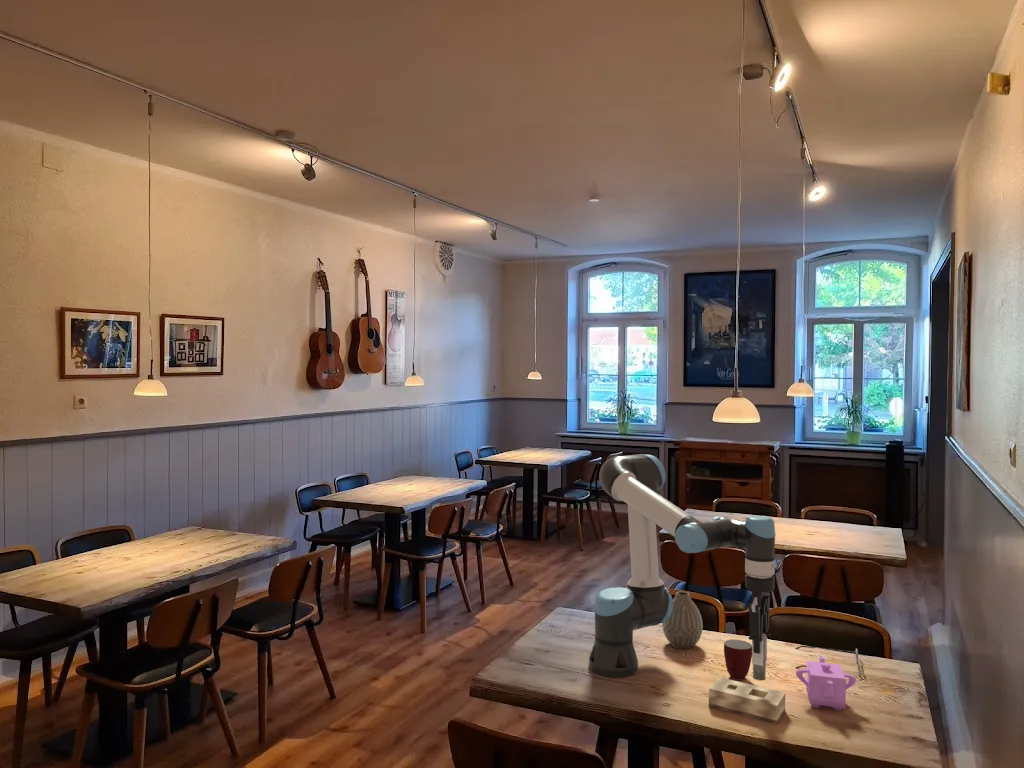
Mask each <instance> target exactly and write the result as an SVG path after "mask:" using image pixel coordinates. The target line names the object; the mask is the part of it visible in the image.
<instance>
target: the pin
mask: <svg viewBox="0 0 1024 768" xmlns="http://www.w3.org/2000/svg"><path fill="white" fill-rule="evenodd" d="M766 636H767V635H766V633H764V632H762V640H763V666H760V665H756V664H752V678H753V679H754V680H756V681H765V680H766V677H767V676H766V674H767V673H766V672H767V671H766V663H767V661H766Z"/></svg>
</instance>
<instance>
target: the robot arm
mask: <svg viewBox="0 0 1024 768" xmlns="http://www.w3.org/2000/svg"><path fill="white" fill-rule="evenodd" d="M598 476H599V478H598V479H599V483H600V486H601V488H602V489H603V491H604V492H605V493H606V494H608V495H609V496H610V497H611V498H612V499H615V500H616V501H617V502H618V501H619V502H621V501H622V502H624V503H625V504H627V513H628V514H627V517H628V533H629V535H628V536H629V550H630V551H629V553H630V555H629V556H630V572H631V577H630V579H629V580H627V582H626V586H627V587H621V586H617V587H608V588H604V589H602V590H600V591H599V592H598V593H597V595H596V596H595V604H594V607H593V608H594V641H593V646H592V648H591V650H590V653H589V656H588V668H589V670H591V671H592V672H594V673H596V674H597V675H602V676H604V677H613V678H623V677H629V676H632V675H634V674H636V673H637V672H638V671H639V659H638V657H637V652H636V650H635V646H634V644H633V643H634V641H633V640H634V639H633V638H634V633H633V632H634V631H637V630H641V629H645V628H648V627H654V626H658V625H660V624H662V623H663V622H665V621H666V620H667V619H668V618H669V617H670V615H671V613H672V610H673V597H672V594H670V591H669V589H668V588H667V587H666V586H665V582H664V581H663V579H661V578H660V576H659V559H658V558H659V557H658V556H659V555H658V542H657V541H658V540H657V538H658V537H657V527H658V526H659V527H660V528H661V529H662V530H664V531H665V532H667V533H668V534H670V535H671V536H673V537H674V540H675V541H674V542H675V543H676V545H677V547H678V549H679V550H681V551H682V553H686V554H696V553H701V552H706V551H711V550H712V551H713V550H716V549H717V550H718V549H723V548H728V547H733V548H736V549H742V550H744V553H745V554H744V555H745V556H744V557H745V558H744V561H745V563H744V572H745V573H746V574H745V575H744V578H745V579H744V583H745V584H744V586H745V589H746V590H748V591H750V592H752V595H751V596H750V600H749V602H750V603H748V604H747V606H748V615H749V619H748V621H749V636H748V640H750V641H751V645H752V658H751V664H752V665H753V664H756V665H760V666H763V640H762V632H764V633H766V662H768V656H767V655H768V637H770V636H771V632H769V631H770V608H771V607H770V605H771V597H772V596H771V593H772V592H774V591H775V588H776V587H775V586H776V585H775V583H776V581H775V579H776V578H775V576H774V575H775V572H776V570H775V569H777V567H778V565H777V564H776V563H775V561H776V559H775V549H776V548H775V547H776V527H775V520H774V519H773V518H772V517H770V516H767V515H747V516H746V517H745V521H744V520H741V519H735V518H731V517H728V516H714V517H712V518H711V519H710V520H709V521H700V520H699V519H697V518H695V517H694V516H692V515H690V514H689V513H687V512H686V511H684V510H683V509H681V508H680V507H679V506H676V505H675V504H673V502H671V501H670V500H668V499H666V498H665V497H663V496H662V495H660V489H661V488H663V486H664V484H665V482H666V478H667V476H666V470H665V467H664V466H663V463H662V462H661V461H660V460H659V458H658V457H657V456H654V455H652V454H647V453H646V454H644V453H643V454H642V453H640V454H632V455H631V454H630V455H616V456H612V457H610V458H609V459H607V460H606V461H605V462H604V463H603V464H602V466H601V467H600V471H599V475H598Z"/></svg>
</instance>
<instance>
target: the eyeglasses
mask: <svg viewBox="0 0 1024 768" xmlns="http://www.w3.org/2000/svg"><path fill="white" fill-rule="evenodd" d="M800 648H808V649H809V648H810V649H817V647H816V646H810V645H800V646H798V647H795V648H794V649H796V650H797V649H798V650H799V649H800ZM820 649H822V650H826V648H824V647H820ZM829 650H832V651H835V648H834V649H833V648H829ZM838 651H842V652H844V650H843V649H842V650H840V649H838ZM847 652H848V653H853V651H852V650H851V651H850V650H847ZM854 654H855V659H856V664H857V671H855V673H856V674H857V673H858V676H859V677H861V671H862V670H861V660H860V657H859V652H858V648H855V651H854ZM805 667H806V668H807V665H804V664H801V665H798V666H796V667H794V668H795V669H799V668H805ZM842 671H843V672H844V670H843V669H842ZM847 672H849V673H853V671H851V670H847Z"/></svg>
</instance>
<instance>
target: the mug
mask: <svg viewBox="0 0 1024 768" xmlns="http://www.w3.org/2000/svg"><path fill="white" fill-rule="evenodd" d="M723 654H724V660H725V667H726V670H727V672H728V675H729V677H730V678H731V680H734V681H743V680H745V679H746V677H747V675H748V674H749V671H750V668H751V664H752V643H750V642H748V641H746V640H742V639H727V640H725V641H724V642H723Z"/></svg>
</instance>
